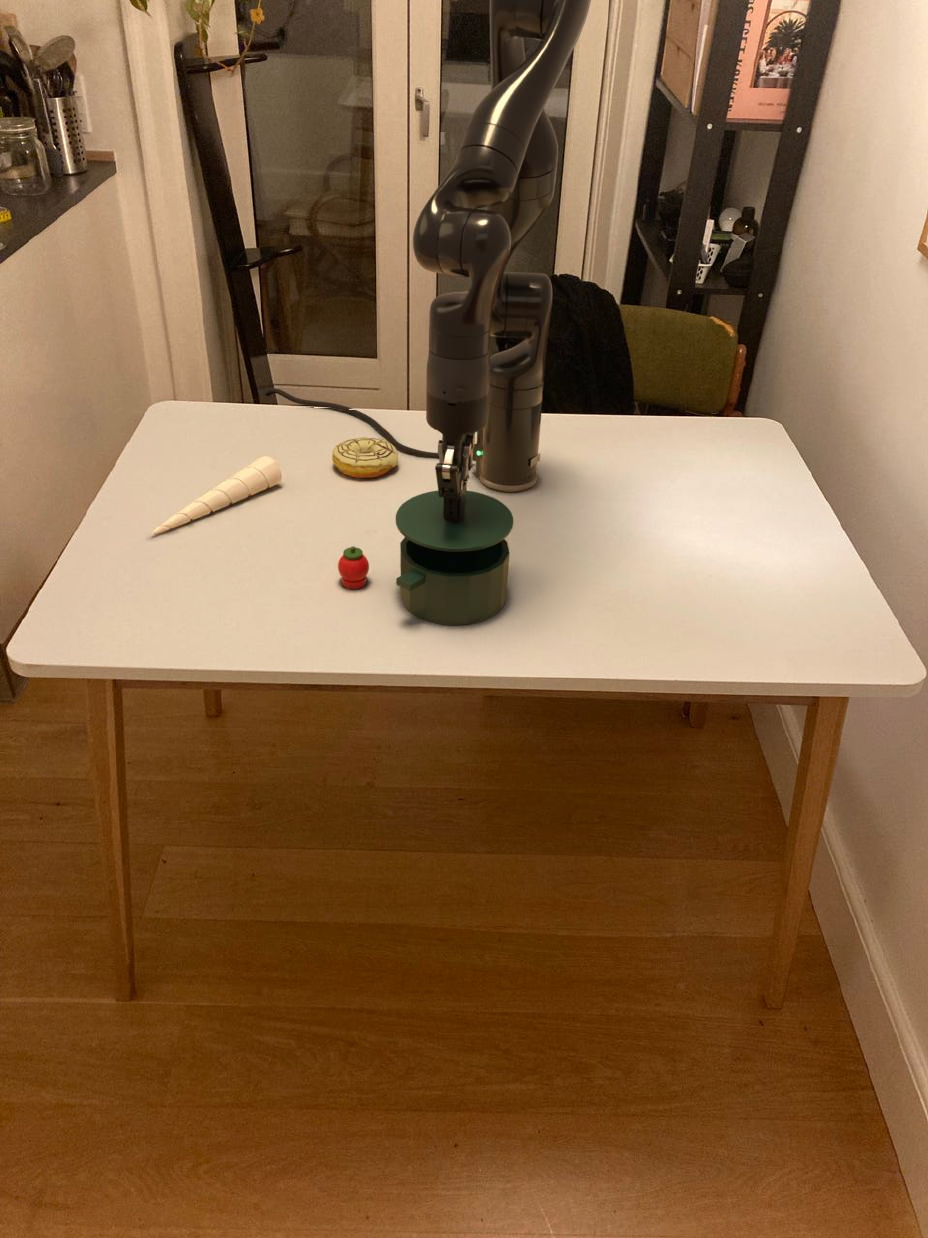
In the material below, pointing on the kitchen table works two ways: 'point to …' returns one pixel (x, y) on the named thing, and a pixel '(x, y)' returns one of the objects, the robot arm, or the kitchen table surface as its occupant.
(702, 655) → the kitchen table surface
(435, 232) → the robot arm
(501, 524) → the lid
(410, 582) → the pan
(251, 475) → the unicorn horn
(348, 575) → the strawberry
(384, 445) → the decorated donut
